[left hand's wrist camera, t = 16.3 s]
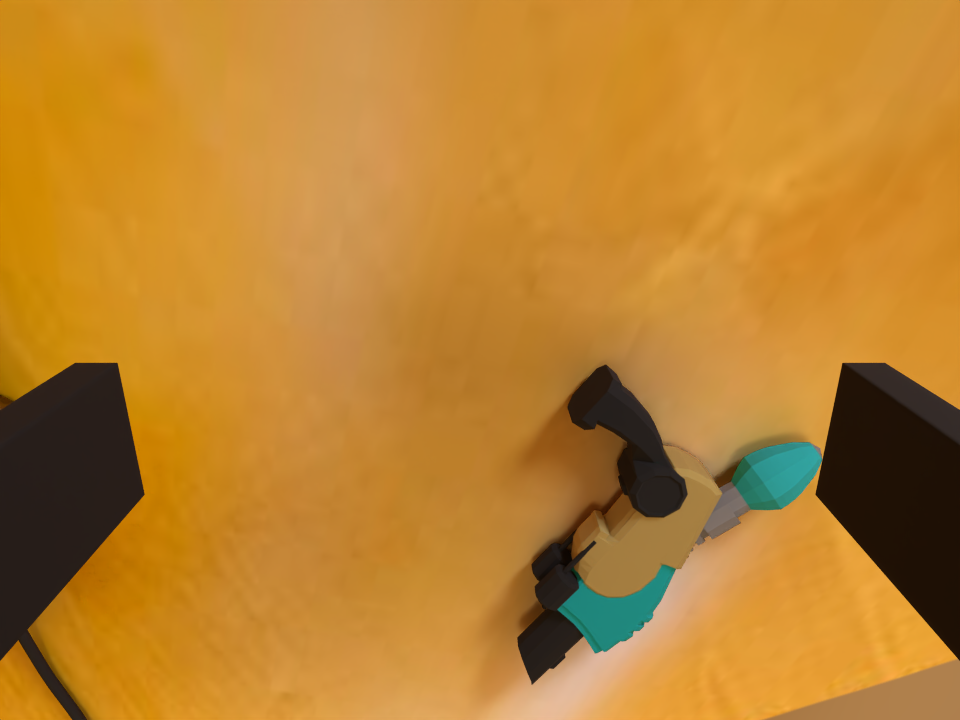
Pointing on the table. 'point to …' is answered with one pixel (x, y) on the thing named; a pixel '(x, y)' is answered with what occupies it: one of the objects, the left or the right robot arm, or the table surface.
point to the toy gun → (643, 526)
